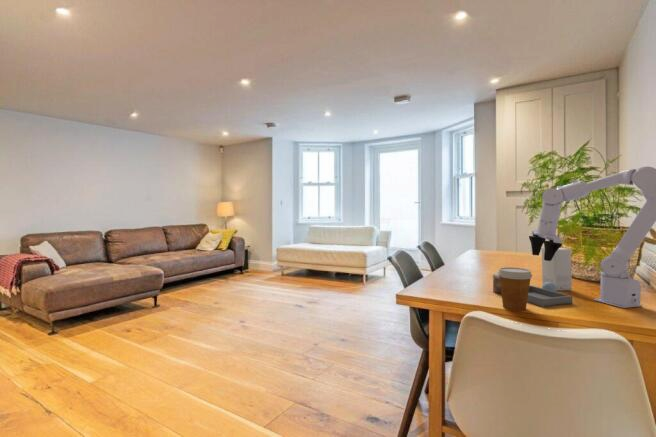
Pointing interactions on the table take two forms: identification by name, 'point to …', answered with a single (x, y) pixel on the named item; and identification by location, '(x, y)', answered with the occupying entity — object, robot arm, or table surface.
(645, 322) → the table surface
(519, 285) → the disposable coffee cup
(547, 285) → the ball
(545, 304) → the tray
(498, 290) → the shaker
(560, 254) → the skincare box
